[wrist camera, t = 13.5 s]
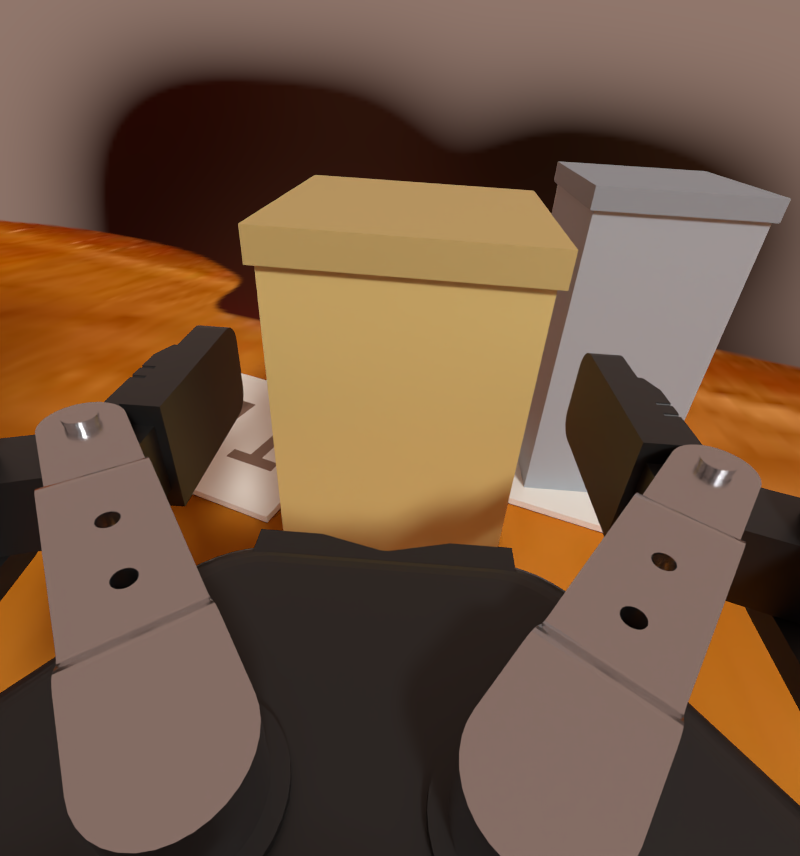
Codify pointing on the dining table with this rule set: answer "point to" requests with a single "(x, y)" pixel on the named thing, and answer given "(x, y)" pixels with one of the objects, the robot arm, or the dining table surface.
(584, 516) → the cream tile
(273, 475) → the cream tile
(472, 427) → the ochre tea tin
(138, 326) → the dining table surface
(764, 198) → the slate tea tin
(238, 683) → the robot arm
